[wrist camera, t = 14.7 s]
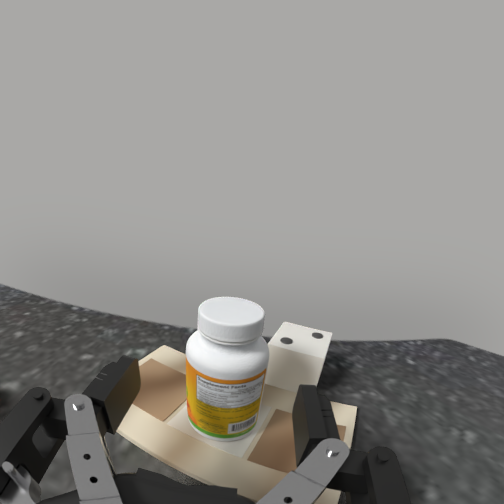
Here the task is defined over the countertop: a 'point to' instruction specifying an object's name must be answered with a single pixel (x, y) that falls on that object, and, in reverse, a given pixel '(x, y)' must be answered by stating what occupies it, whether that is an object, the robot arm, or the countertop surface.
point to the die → (296, 356)
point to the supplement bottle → (226, 368)
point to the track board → (211, 451)
